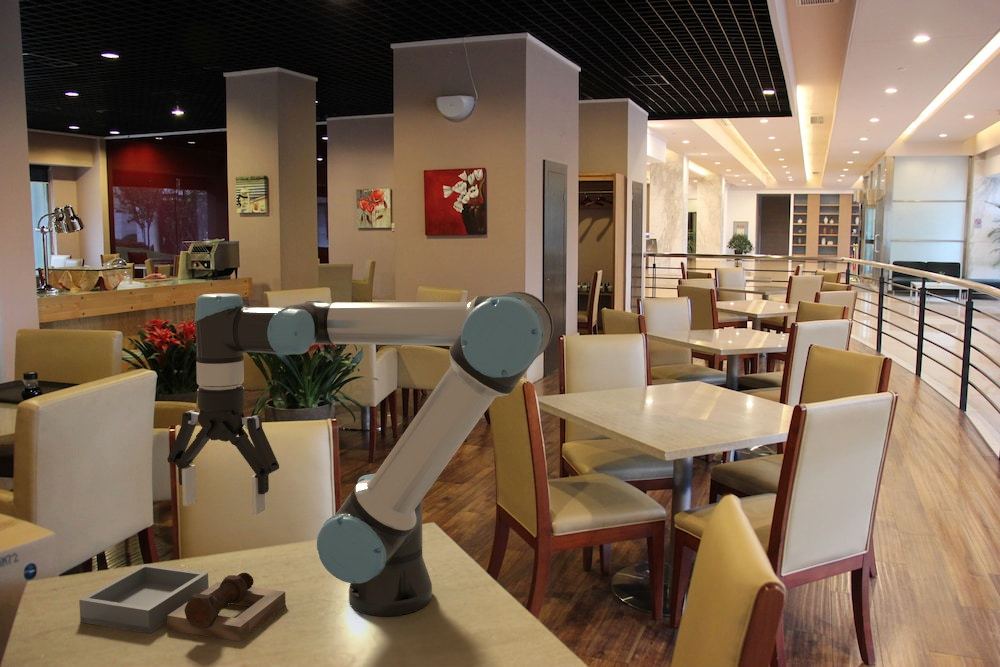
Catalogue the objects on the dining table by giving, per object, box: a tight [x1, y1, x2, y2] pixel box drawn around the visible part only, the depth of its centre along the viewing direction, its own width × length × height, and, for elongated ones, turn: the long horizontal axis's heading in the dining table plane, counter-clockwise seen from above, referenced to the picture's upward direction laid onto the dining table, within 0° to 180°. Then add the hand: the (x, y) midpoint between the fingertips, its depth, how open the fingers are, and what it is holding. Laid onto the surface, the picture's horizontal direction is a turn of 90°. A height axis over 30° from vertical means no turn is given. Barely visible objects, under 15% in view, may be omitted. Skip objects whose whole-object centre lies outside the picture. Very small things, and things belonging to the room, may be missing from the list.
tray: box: [78, 563, 210, 634], centre depth 144 cm, size 14×16×4 cm
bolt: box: [184, 572, 254, 628], centre depth 139 cm, size 6×5×15 cm
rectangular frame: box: [166, 581, 287, 642], centre depth 141 cm, size 14×14×2 cm
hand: (223, 507), depth 139 cm, fingers open, 13 cm apart
